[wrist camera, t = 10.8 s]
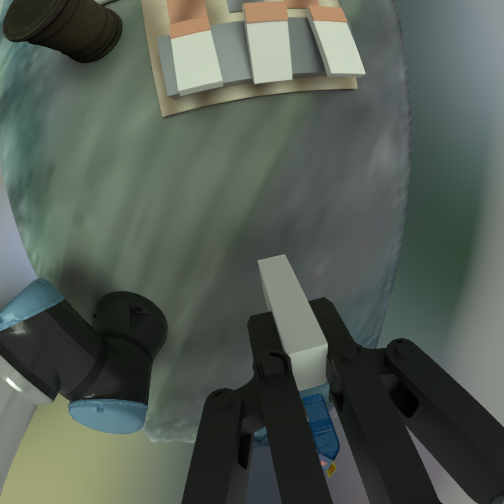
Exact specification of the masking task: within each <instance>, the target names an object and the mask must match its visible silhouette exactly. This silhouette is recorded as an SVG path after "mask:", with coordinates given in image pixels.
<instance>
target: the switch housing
mask: <svg viewBox="0 0 504 504" xmlns="http://www.w3.org/2000/svg"><path fill="white" fill-rule="evenodd" d="M287 21H288V31H289V42H290V53H291V65H292V78H301V77H320V76H327V73H326V70H325V66H324V63H323V60H322V57H321V54H320V51H319V48H318V45H317V42H316V39H315V37H314V34H313V31H312V29H311V26H310V23H309V21H308V18H307V17H288V20H287ZM347 25H348V27H349V30H350V32H351V35H352V37H353V34H352V30H351V26H350V22H349V20H347ZM210 28H211V33H212V37H213V41H214V46H215V50H216V54H217V58H218V62H219V67H220V71H221V75H222V79H223V87H218V88H213V89H208V90H204V91H200V92H195V93H191V94H187V95H183V96H180V94H179V91H178V86H177V79H176V72H175V66H174V59H173V52H172V44H171V38H170V35H167V36H163V37H160V38H157V44H158V50H159V55H160V60H161V66H162V71H163V76H164V81H165V85H166V90H167V95H168V97H170V98H172V99H177V98H180V97H184V96H188V95H192V94H196V93H201V92H205V91H209V90H214V89H219V88H224V87H229V86H235V85H241V84H247V83H253V81H252V73H251V66H250V59H249V52H248V44H247V38H246V31H245V24H244V20H243V21H235V22H228V23H221V24H215V25H210ZM353 40H354V38H353Z"/></svg>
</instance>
